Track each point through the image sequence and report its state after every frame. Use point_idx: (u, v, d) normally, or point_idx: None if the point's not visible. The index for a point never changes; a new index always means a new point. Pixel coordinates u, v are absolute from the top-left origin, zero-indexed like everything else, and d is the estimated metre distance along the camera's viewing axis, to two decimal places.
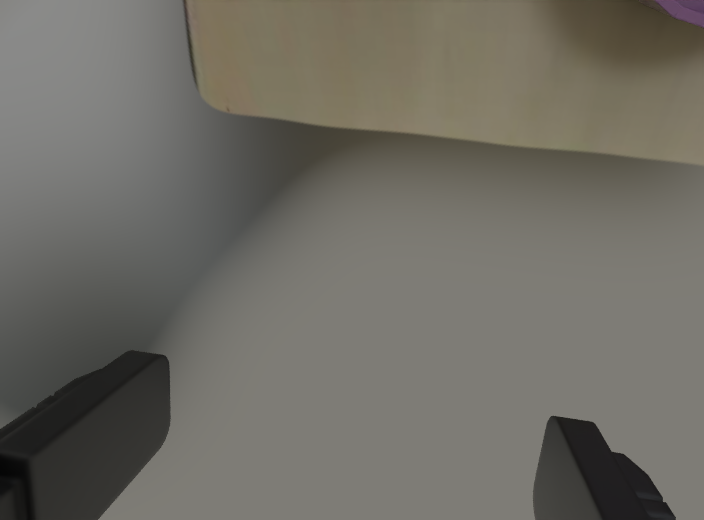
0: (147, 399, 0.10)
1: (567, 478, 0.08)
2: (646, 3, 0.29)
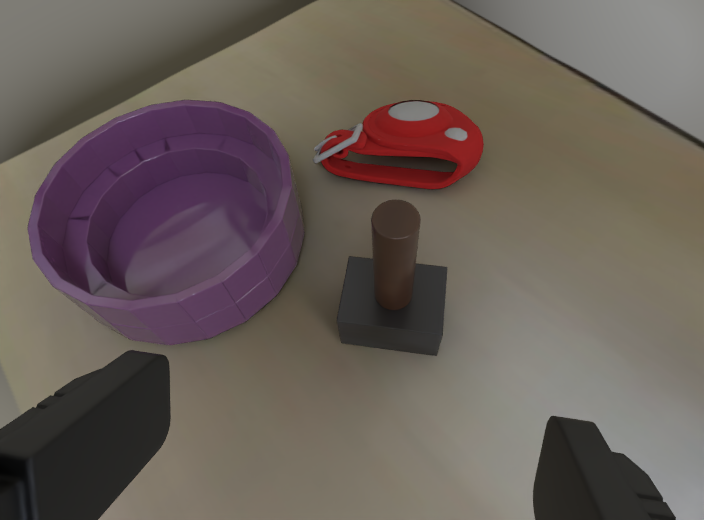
0: (147, 399, 0.10)
1: (567, 478, 0.08)
2: None
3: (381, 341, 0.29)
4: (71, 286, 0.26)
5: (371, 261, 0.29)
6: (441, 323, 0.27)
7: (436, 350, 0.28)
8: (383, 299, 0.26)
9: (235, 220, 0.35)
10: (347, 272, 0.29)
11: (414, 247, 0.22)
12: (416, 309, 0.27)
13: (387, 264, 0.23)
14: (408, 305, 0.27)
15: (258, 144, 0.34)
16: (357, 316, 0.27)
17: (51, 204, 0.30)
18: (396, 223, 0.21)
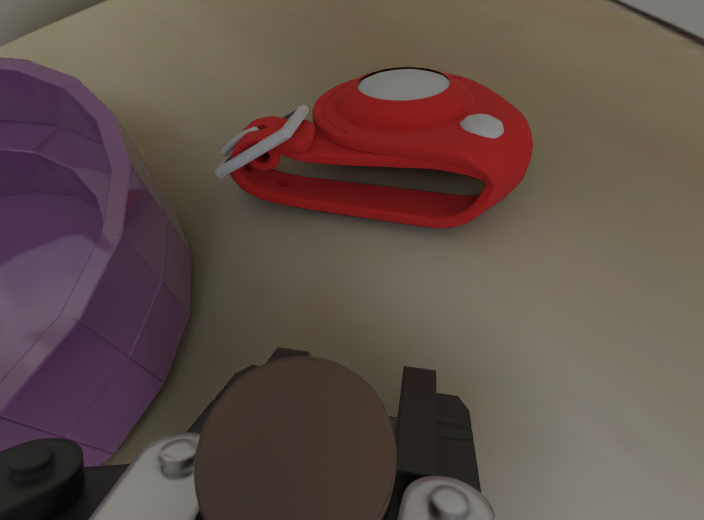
0: None
1: (398, 412, 0.09)
2: None
3: None
4: None
5: None
6: None
7: None
8: None
9: (66, 283, 0.19)
10: None
11: None
12: None
13: None
14: None
15: None
16: None
17: None
18: (294, 478, 0.05)
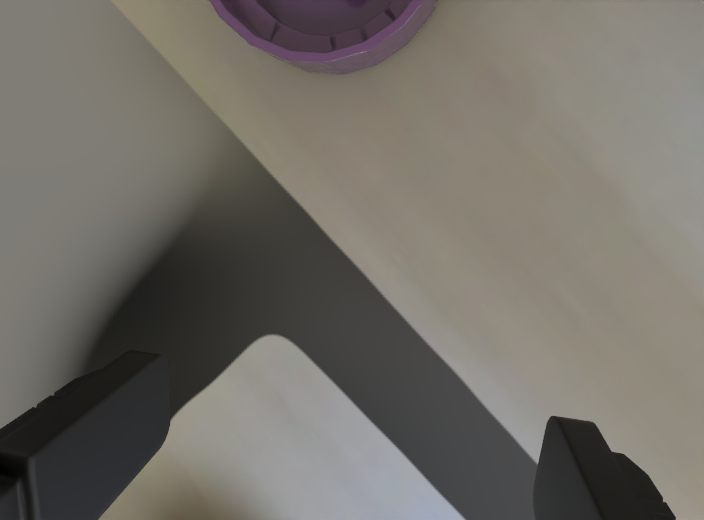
0: (146, 399, 0.10)
1: (567, 478, 0.08)
2: None
3: None
4: (267, 43, 0.30)
5: None
6: None
7: None
8: None
9: None
10: None
11: None
12: None
13: None
14: None
15: None
16: None
17: None
18: None
